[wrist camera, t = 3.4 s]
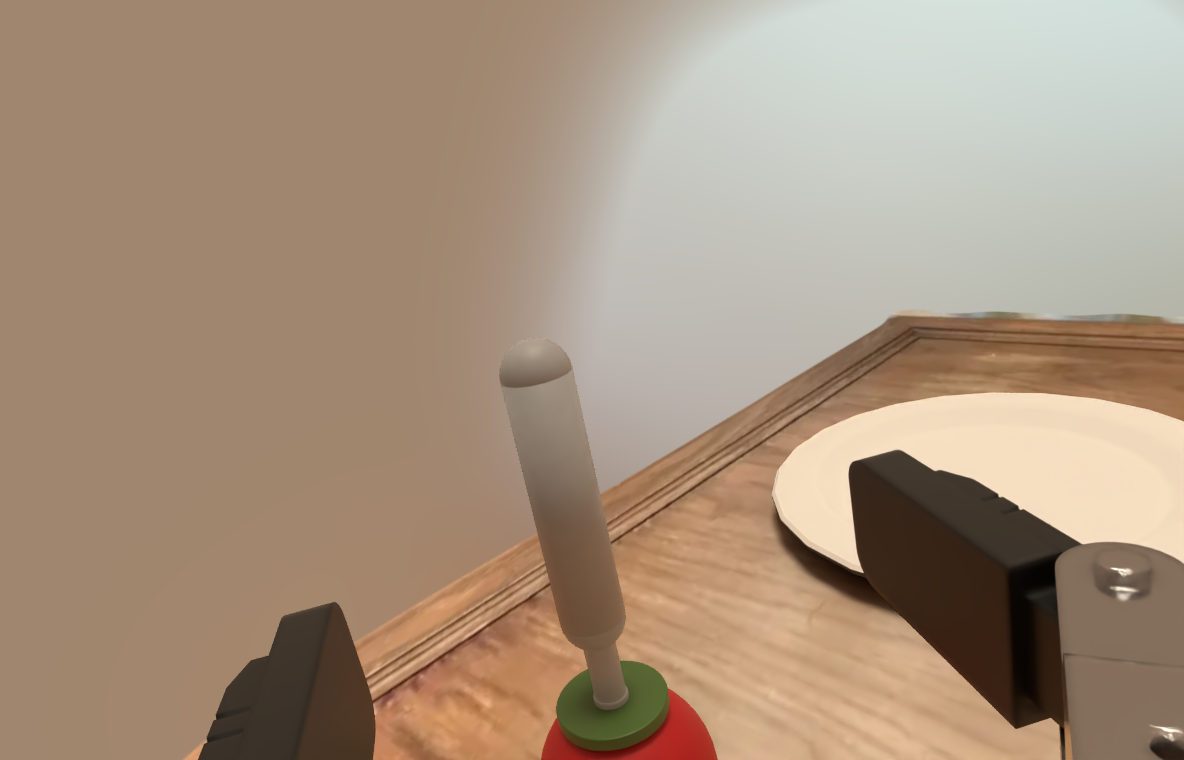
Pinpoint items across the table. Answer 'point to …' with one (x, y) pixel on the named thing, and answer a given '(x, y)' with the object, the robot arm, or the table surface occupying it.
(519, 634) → the table surface
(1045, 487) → the plate
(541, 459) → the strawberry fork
